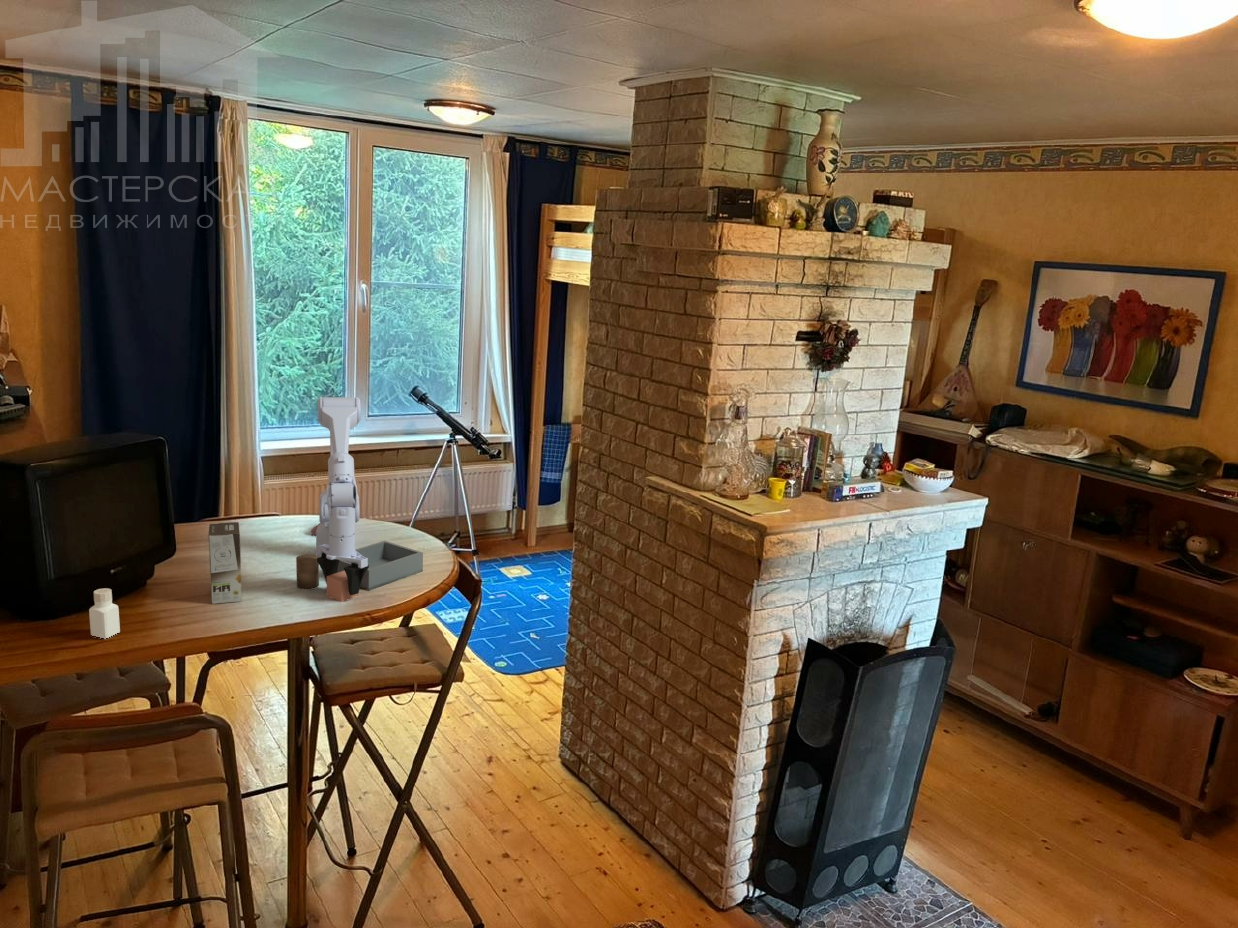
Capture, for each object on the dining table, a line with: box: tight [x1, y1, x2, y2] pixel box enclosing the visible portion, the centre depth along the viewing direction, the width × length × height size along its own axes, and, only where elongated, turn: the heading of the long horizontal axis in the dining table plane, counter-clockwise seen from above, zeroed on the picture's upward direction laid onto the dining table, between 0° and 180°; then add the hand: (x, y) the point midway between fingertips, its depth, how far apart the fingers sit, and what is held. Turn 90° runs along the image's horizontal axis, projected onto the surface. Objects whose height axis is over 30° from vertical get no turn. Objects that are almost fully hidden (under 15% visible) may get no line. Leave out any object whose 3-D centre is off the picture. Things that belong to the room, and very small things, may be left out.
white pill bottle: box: [88, 587, 121, 640], centre depth 187 cm, size 4×4×10 cm
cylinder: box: [295, 553, 320, 590], centre depth 220 cm, size 5×5×7 cm
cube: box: [326, 571, 360, 603], centre depth 215 cm, size 5×5×5 cm
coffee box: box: [208, 521, 242, 605], centre depth 210 cm, size 9×6×16 cm
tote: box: [337, 540, 424, 591], centre depth 230 cm, size 14×18×5 cm
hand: (342, 589), depth 215 cm, fingers open, 7 cm apart
